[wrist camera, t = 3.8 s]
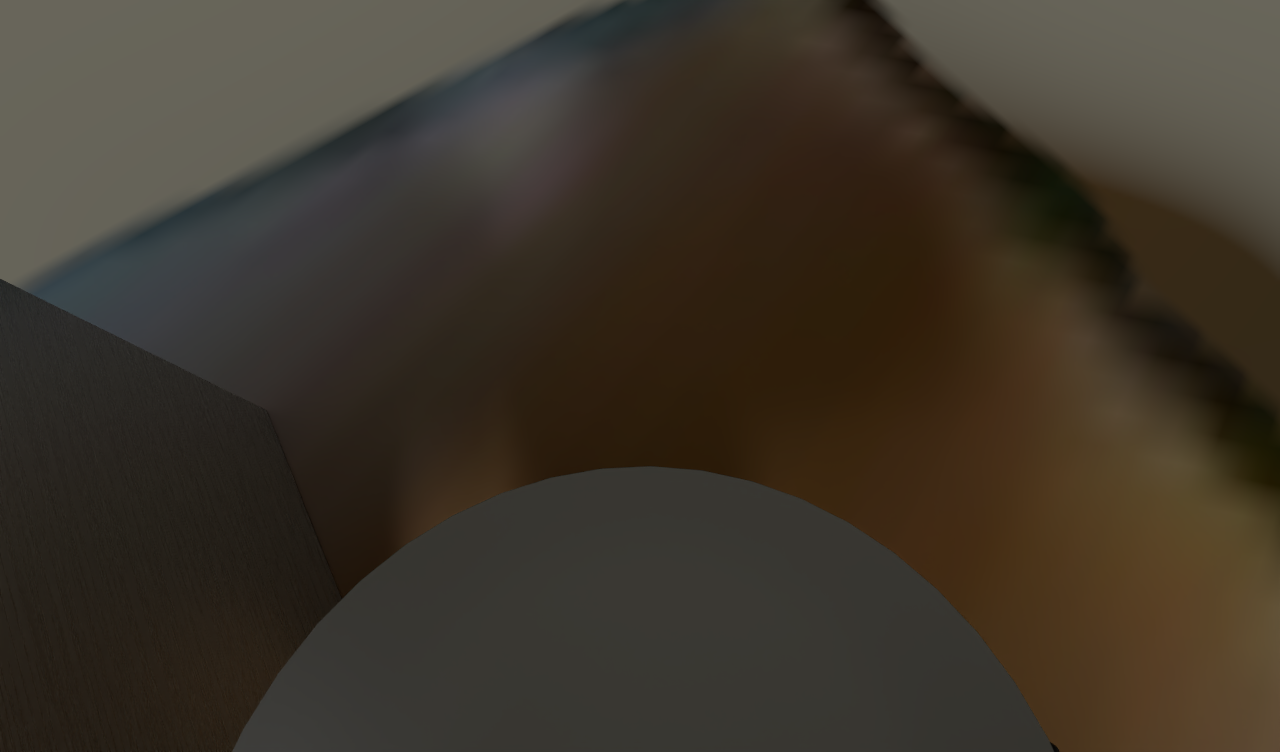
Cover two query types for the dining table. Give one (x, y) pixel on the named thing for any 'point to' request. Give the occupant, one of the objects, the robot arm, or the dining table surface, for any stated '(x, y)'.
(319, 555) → the caddy
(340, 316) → the dining table surface
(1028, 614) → the dining table surface
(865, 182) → the dining table surface
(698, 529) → the cup
